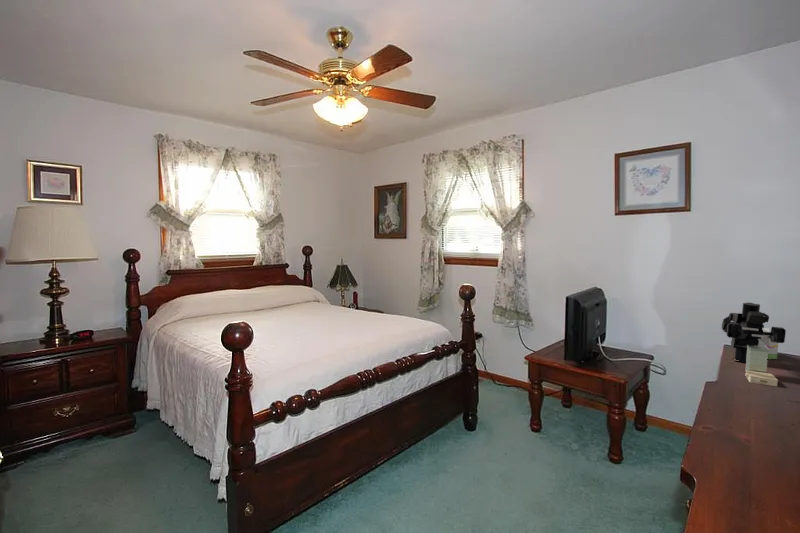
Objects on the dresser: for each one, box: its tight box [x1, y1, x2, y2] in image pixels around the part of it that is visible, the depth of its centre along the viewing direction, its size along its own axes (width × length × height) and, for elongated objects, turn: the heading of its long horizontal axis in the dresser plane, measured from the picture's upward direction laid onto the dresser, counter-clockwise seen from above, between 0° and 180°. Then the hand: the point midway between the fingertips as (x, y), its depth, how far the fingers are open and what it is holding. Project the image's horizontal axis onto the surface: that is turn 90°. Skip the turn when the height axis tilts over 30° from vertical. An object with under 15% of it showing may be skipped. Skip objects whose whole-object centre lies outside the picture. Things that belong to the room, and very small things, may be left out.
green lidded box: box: [744, 345, 769, 373], centre depth 169 cm, size 6×6×12 cm
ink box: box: [758, 327, 779, 360], centre depth 194 cm, size 9×5×15 cm, turn 179°
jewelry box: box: [744, 370, 779, 387], centre depth 162 cm, size 8×8×3 cm
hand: (760, 338), depth 165 cm, fingers open, 9 cm apart
